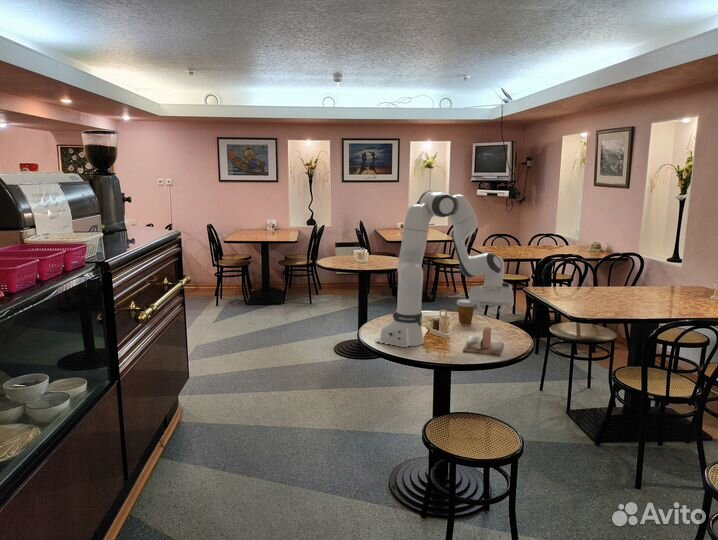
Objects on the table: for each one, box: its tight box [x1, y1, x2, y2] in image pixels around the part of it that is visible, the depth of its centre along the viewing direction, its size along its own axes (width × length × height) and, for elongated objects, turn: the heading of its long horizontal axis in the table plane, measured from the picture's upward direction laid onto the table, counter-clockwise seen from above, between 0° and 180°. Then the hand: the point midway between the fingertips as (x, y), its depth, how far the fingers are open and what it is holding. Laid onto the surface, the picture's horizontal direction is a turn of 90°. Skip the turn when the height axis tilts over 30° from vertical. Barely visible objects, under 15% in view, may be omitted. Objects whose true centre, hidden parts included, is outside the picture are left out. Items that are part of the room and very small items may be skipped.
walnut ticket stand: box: [462, 335, 504, 357], centre depth 229 cm, size 16×16×4 cm
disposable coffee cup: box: [456, 298, 476, 325], centre depth 268 cm, size 10×10×12 cm
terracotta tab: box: [482, 326, 492, 348], centre depth 228 cm, size 3×5×8 cm, turn 160°
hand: (489, 312), depth 237 cm, fingers open, 8 cm apart
